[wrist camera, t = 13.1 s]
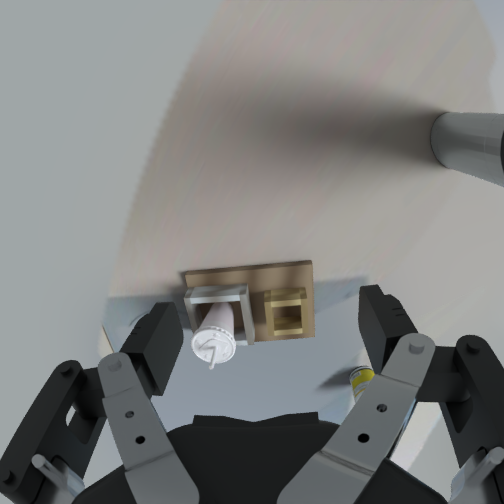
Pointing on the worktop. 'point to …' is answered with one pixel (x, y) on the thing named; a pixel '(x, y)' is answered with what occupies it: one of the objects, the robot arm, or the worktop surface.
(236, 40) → the worktop surface
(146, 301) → the worktop surface
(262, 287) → the fitting board
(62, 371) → the robot arm
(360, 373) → the supplement bottle
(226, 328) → the smoothie
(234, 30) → the worktop surface
